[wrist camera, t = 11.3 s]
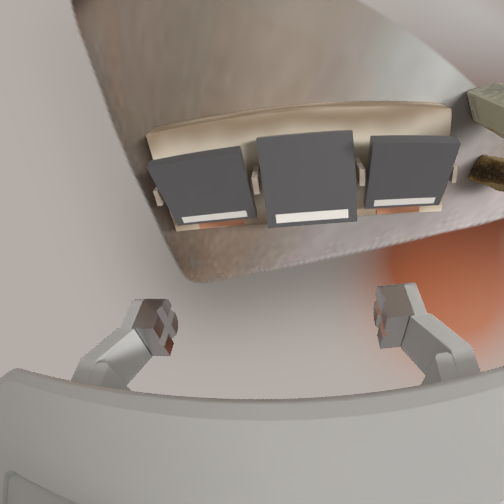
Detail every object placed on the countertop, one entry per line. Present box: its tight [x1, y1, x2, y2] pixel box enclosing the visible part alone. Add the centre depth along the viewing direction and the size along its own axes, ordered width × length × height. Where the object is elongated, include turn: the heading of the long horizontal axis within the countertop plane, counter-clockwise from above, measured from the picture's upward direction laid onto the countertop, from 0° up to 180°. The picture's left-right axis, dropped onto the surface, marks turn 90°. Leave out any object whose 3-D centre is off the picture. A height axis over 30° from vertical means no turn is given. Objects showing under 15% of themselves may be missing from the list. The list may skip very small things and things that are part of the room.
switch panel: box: [146, 101, 458, 231], centre depth 36 cm, size 14×36×6 cm, turn 99°
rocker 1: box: [147, 146, 257, 226], centre depth 35 cm, size 10×10×1 cm
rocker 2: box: [363, 135, 460, 209], centre depth 31 cm, size 10×10×1 cm
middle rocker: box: [256, 130, 357, 228], centre depth 33 cm, size 10×10×1 cm
